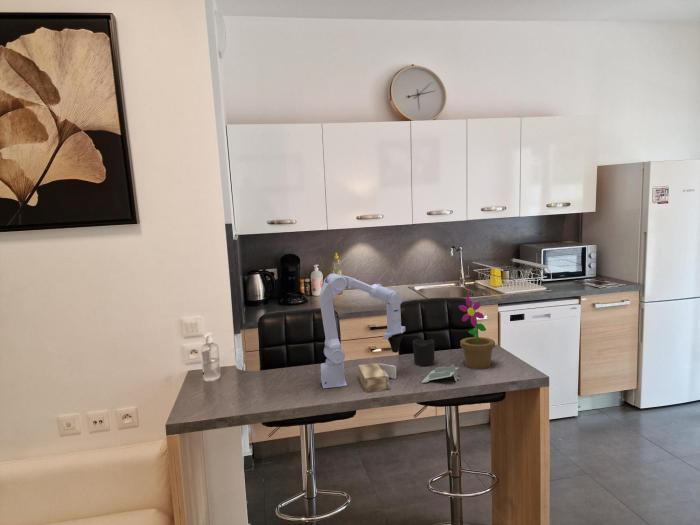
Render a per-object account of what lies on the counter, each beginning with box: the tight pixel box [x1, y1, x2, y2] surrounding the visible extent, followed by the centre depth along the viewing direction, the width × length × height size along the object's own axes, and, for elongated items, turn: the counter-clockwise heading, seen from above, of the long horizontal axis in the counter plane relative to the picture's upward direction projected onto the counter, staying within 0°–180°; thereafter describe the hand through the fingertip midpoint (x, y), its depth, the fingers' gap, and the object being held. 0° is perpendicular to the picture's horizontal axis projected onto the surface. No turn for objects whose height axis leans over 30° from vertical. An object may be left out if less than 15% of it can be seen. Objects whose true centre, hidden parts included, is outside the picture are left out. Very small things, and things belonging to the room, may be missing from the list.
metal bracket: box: [420, 364, 461, 384], centre depth 192 cm, size 14×6×15 cm
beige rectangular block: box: [357, 362, 391, 393], centre depth 191 cm, size 10×16×6 cm, turn 9°
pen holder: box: [412, 338, 435, 367], centre depth 212 cm, size 9×9×10 cm
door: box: [378, 362, 397, 380], centre depth 197 cm, size 1×8×5 cm, turn 53°
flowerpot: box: [458, 296, 496, 370], centre depth 205 cm, size 14×14×30 cm
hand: (395, 351), depth 200 cm, fingers closed
